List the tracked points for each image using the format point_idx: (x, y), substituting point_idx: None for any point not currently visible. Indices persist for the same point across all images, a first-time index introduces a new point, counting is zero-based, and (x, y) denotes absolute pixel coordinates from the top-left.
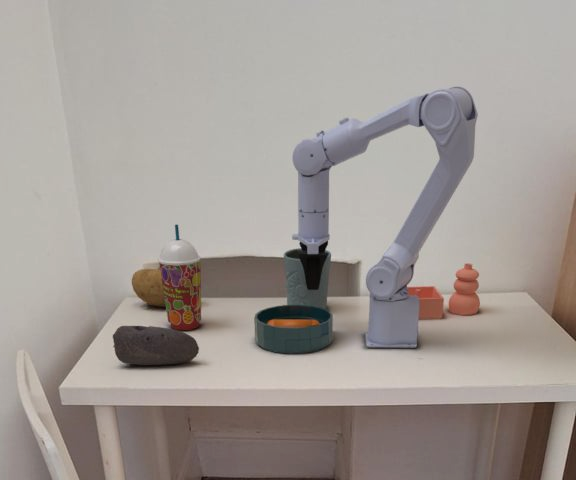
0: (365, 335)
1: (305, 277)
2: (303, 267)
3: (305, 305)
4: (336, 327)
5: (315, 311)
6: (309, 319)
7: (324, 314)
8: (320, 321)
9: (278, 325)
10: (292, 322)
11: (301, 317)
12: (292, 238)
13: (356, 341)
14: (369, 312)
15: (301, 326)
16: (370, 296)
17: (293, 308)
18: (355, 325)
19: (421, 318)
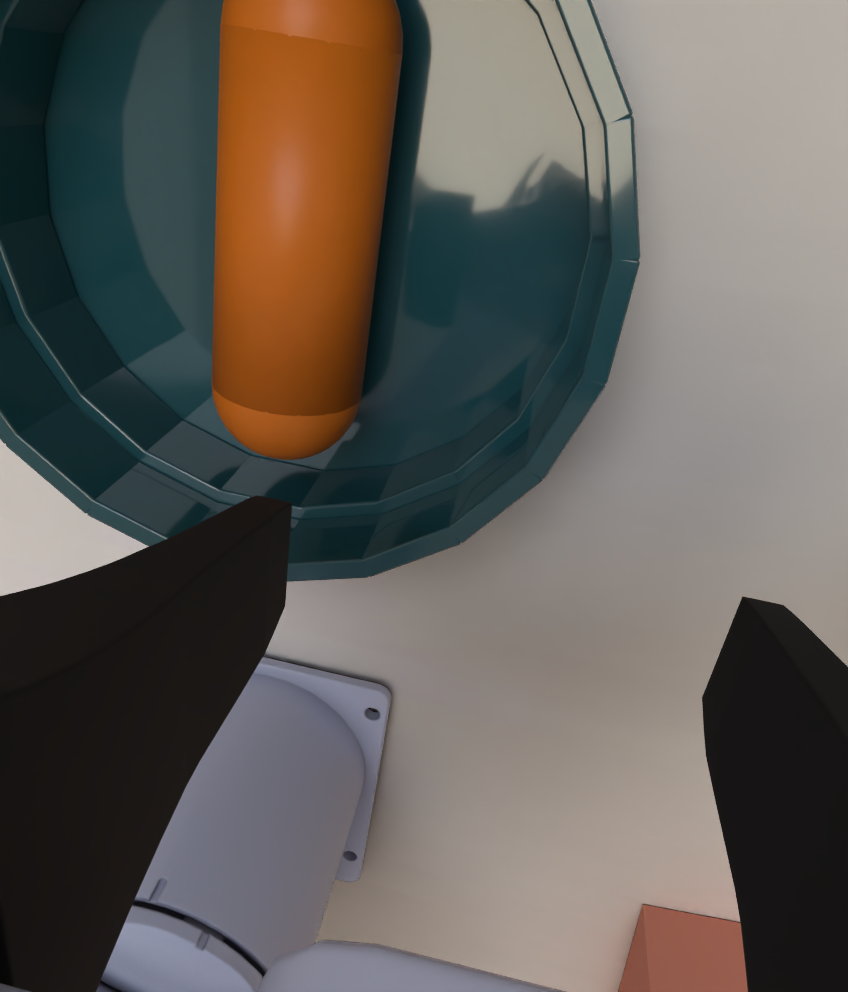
0: (341, 679)
1: (162, 543)
2: (15, 596)
3: (568, 419)
4: (582, 569)
5: (492, 479)
6: (281, 389)
7: (398, 530)
8: (431, 476)
9: (221, 76)
10: (235, 226)
11: (559, 344)
12: (319, 975)
13: (284, 610)
14: (188, 798)
15: (216, 298)
16: (141, 900)
17: (600, 292)
18: (595, 683)
19: (620, 986)
